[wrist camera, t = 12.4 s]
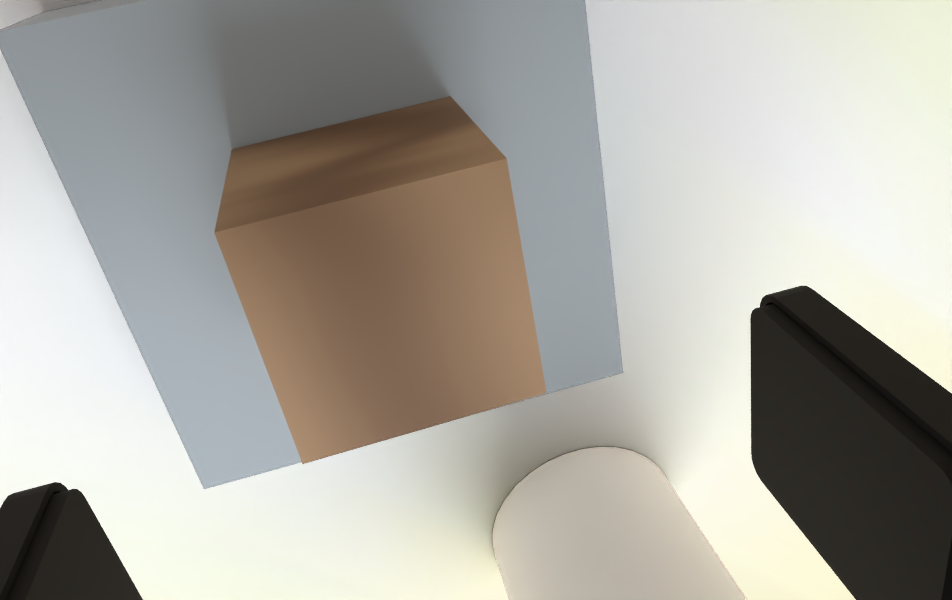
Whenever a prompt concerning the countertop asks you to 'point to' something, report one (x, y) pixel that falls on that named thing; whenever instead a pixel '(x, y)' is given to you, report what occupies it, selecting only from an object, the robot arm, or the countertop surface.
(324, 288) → the walnut cube
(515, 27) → the grey base block
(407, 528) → the countertop surface
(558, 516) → the cylindrical container
